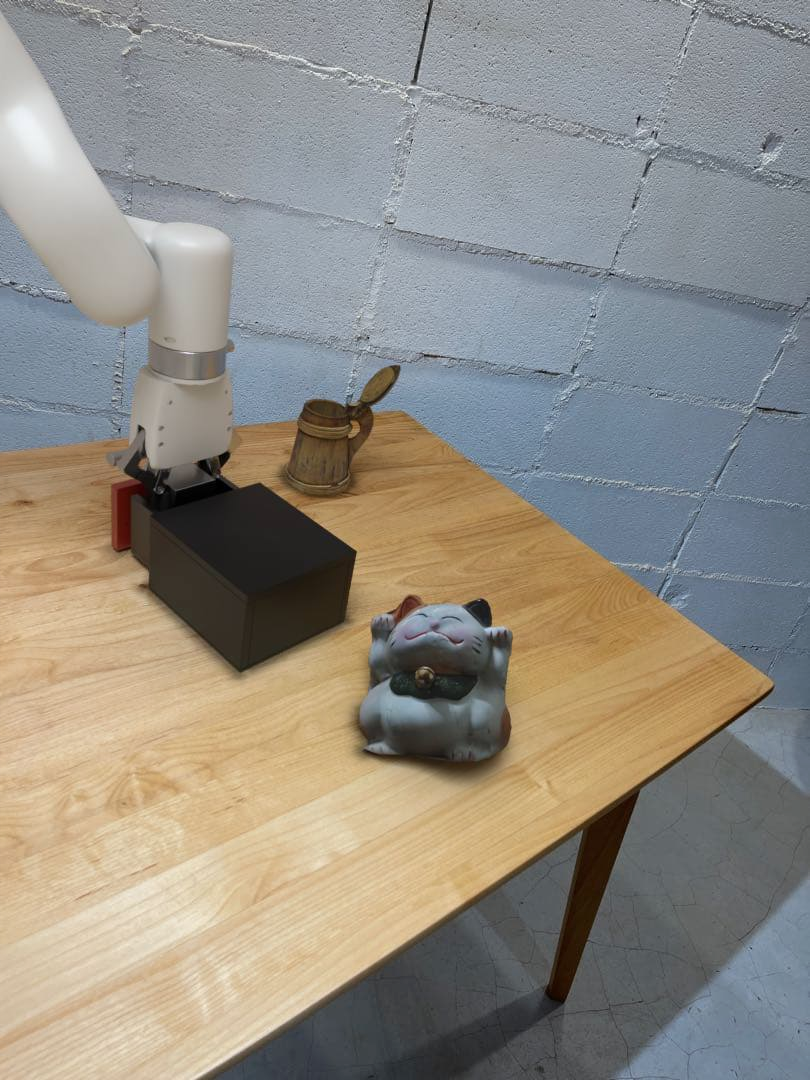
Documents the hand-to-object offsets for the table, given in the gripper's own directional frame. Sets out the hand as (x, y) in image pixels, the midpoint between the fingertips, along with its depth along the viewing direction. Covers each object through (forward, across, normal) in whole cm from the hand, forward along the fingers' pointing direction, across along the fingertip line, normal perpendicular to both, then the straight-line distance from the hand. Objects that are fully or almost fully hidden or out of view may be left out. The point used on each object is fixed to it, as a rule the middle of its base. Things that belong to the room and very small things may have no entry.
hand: (180, 510), depth 90 cm
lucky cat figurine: (+6, -3, +36) cm, 36 cm away
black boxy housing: (+6, 0, +12) cm, 14 cm away
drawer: (+5, 0, +1) cm, 5 cm away
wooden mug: (+6, -27, -4) cm, 28 cm away
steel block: (0, 0, 0) cm, 0 cm away
